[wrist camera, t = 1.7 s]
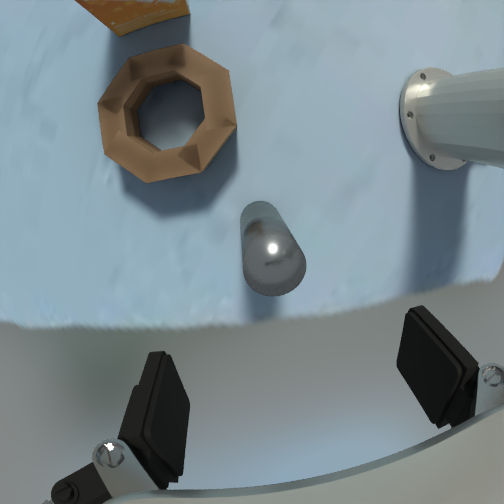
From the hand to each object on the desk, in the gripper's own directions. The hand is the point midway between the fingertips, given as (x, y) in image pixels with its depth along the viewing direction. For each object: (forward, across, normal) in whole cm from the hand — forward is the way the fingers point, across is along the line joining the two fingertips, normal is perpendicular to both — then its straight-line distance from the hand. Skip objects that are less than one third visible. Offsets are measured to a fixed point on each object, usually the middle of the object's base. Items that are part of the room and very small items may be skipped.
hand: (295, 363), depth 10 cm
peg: (+20, 0, 0) cm, 21 cm away
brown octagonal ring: (+20, +6, -12) cm, 25 cm away
